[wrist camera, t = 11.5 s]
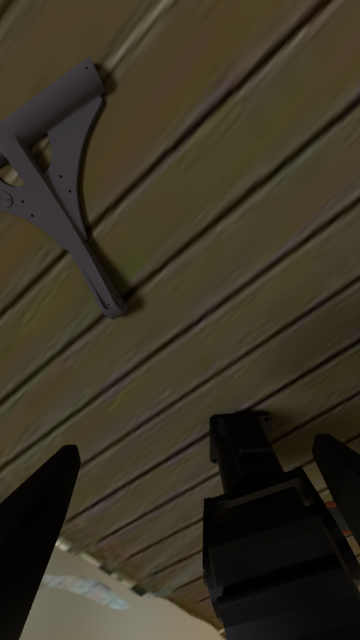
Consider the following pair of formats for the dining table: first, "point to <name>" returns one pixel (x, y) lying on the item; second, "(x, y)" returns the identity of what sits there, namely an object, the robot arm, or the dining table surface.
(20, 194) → the bracket
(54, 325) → the dining table surface
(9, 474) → the dining table surface
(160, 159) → the dining table surface
